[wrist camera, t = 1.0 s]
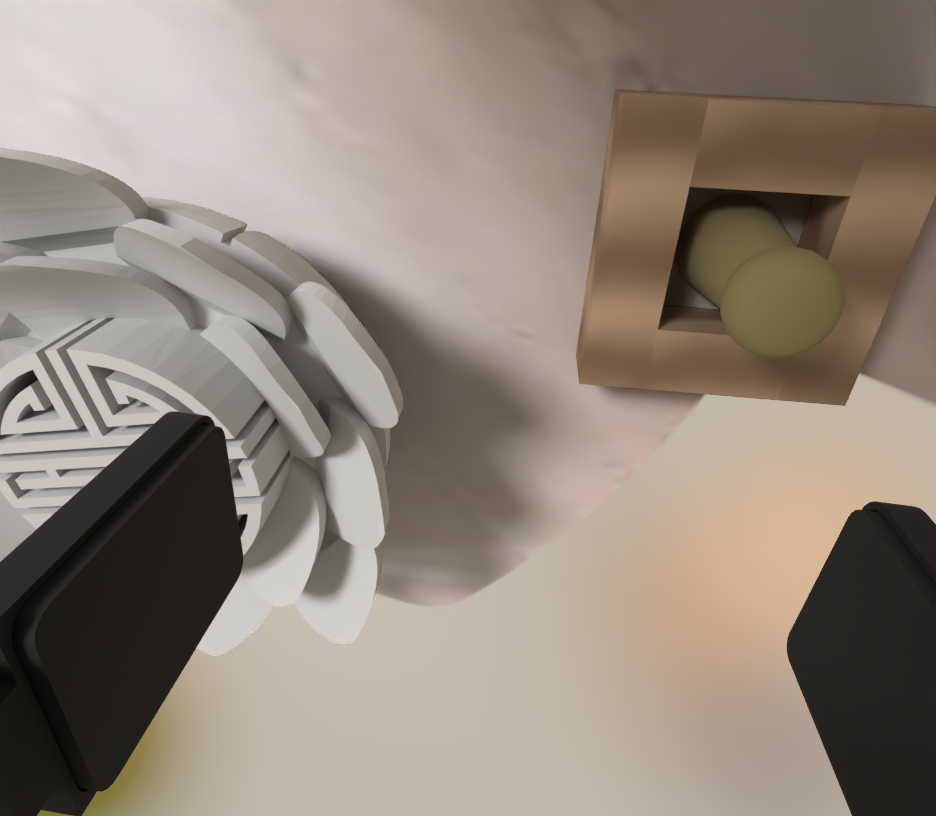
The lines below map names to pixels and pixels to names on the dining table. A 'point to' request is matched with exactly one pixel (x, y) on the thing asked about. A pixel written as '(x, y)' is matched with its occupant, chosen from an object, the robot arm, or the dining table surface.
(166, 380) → the decorative bowl
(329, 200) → the dining table surface
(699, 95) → the walnut holder
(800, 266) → the cork
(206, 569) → the robot arm
